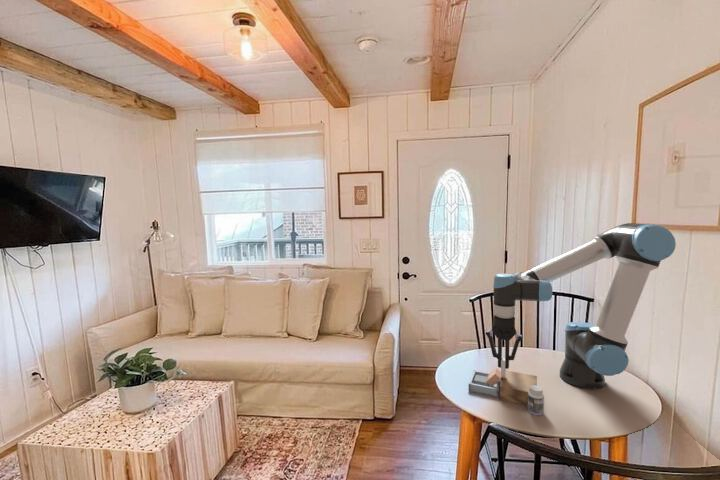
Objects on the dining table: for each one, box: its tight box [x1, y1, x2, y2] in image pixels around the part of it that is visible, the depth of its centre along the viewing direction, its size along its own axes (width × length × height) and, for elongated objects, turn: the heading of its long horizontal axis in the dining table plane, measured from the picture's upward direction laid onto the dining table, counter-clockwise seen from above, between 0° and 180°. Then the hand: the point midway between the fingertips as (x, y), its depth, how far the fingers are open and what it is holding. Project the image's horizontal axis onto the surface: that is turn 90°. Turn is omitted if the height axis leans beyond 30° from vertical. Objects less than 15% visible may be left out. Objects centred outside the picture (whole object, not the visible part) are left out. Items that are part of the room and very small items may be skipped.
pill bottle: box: [527, 385, 545, 416], centre depth 113 cm, size 5×5×8 cm
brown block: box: [499, 369, 538, 406], centre depth 124 cm, size 12×14×5 cm
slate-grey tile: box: [474, 375, 489, 387], centre depth 131 cm, size 5×5×2 cm
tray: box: [468, 370, 501, 398], centre depth 130 cm, size 11×12×3 cm
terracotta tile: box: [486, 368, 501, 387], centre depth 128 cm, size 5×5×2 cm
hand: (503, 375), depth 127 cm, fingers closed
